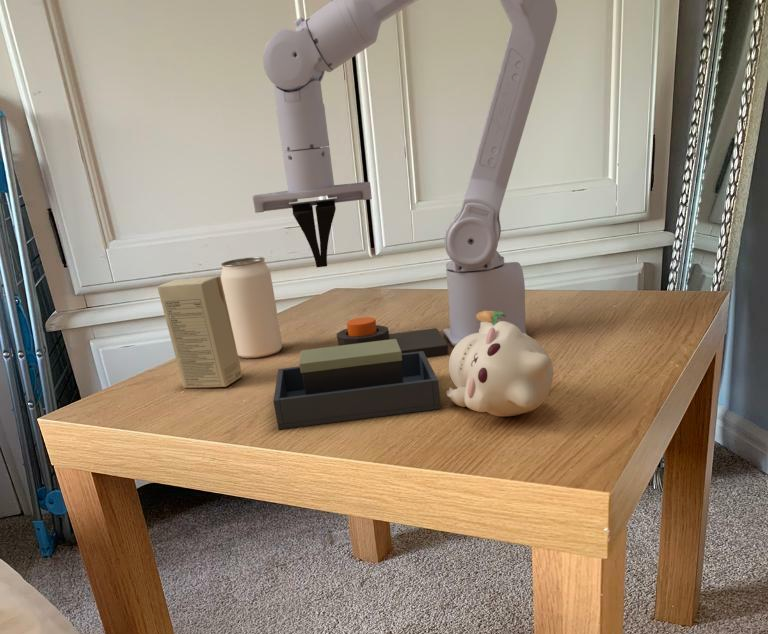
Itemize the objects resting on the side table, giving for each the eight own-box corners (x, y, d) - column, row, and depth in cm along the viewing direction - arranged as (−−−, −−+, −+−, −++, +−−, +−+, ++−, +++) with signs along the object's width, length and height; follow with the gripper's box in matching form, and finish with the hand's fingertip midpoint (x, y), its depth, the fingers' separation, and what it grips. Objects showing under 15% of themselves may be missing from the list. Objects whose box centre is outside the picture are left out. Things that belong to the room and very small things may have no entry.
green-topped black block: (400, 384, 82) (396, 338, 80) (405, 398, 77) (401, 350, 75) (307, 395, 82) (300, 350, 79) (306, 411, 77) (299, 363, 75)
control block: (437, 336, 100) (436, 314, 99) (448, 354, 92) (446, 330, 91) (338, 349, 100) (335, 326, 98) (340, 367, 92) (337, 343, 90)
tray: (425, 376, 85) (423, 350, 83) (440, 409, 75) (438, 379, 73) (282, 394, 84) (278, 368, 83) (278, 429, 74) (273, 400, 73)
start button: (375, 329, 96) (374, 315, 95) (378, 336, 93) (376, 322, 92) (347, 333, 96) (346, 319, 95) (349, 339, 93) (347, 325, 92)
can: (274, 358, 99) (257, 263, 93) (228, 360, 100) (209, 267, 95) (289, 344, 104) (274, 254, 99) (245, 347, 106) (229, 258, 101)
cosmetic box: (244, 377, 92) (224, 274, 87) (226, 388, 89) (204, 282, 83) (199, 377, 94) (176, 277, 89) (180, 388, 91) (155, 285, 85)
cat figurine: (452, 299, 75) (526, 305, 62) (517, 329, 79) (600, 341, 65) (417, 389, 77) (481, 414, 63) (481, 414, 80) (555, 444, 67)
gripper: (363, 142, 95) (375, 254, 101) (248, 155, 94) (267, 267, 100) (367, 142, 88) (379, 262, 95) (244, 157, 88) (264, 276, 94)
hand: (321, 265), depth 97 cm, fingers closed
